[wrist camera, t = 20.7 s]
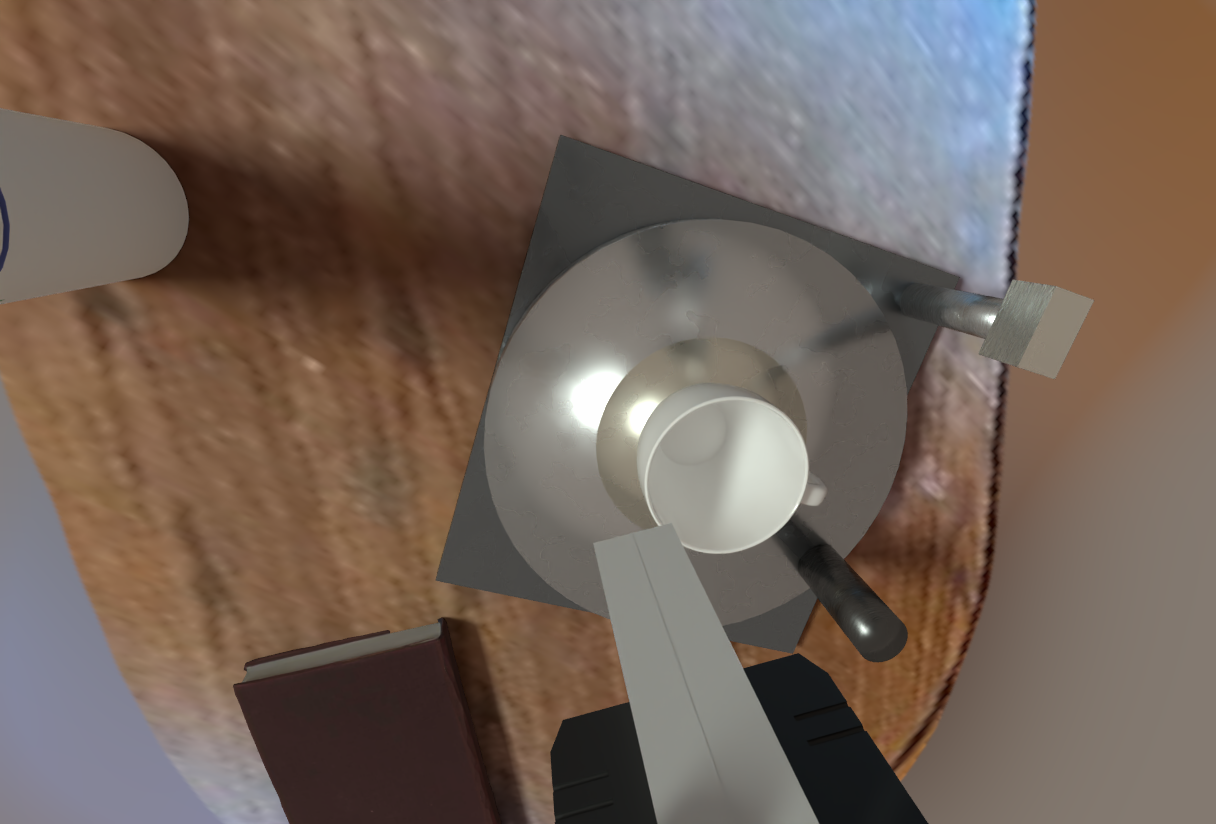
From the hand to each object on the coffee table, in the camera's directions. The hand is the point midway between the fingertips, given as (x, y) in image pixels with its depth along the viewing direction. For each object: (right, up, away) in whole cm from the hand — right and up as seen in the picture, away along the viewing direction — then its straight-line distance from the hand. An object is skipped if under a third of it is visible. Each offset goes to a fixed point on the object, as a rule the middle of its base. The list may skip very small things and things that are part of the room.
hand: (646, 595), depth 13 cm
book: (-15, -19, +32) cm, 41 cm away
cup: (+5, +2, +25) cm, 25 cm away
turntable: (+4, +2, +26) cm, 27 cm away
